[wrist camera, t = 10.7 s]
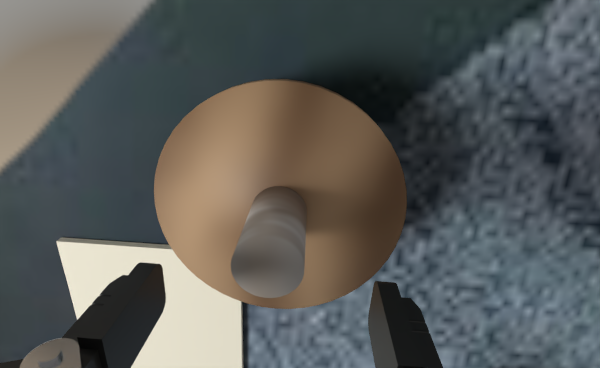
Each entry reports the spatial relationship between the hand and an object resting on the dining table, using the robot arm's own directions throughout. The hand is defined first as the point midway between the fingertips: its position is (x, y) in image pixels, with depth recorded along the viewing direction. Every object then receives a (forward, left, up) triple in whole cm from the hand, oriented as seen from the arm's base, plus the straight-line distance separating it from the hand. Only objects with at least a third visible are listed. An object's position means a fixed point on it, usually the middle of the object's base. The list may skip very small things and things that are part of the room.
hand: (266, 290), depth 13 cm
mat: (+11, +15, -13) cm, 23 cm away
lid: (0, 0, -7) cm, 7 cm away
